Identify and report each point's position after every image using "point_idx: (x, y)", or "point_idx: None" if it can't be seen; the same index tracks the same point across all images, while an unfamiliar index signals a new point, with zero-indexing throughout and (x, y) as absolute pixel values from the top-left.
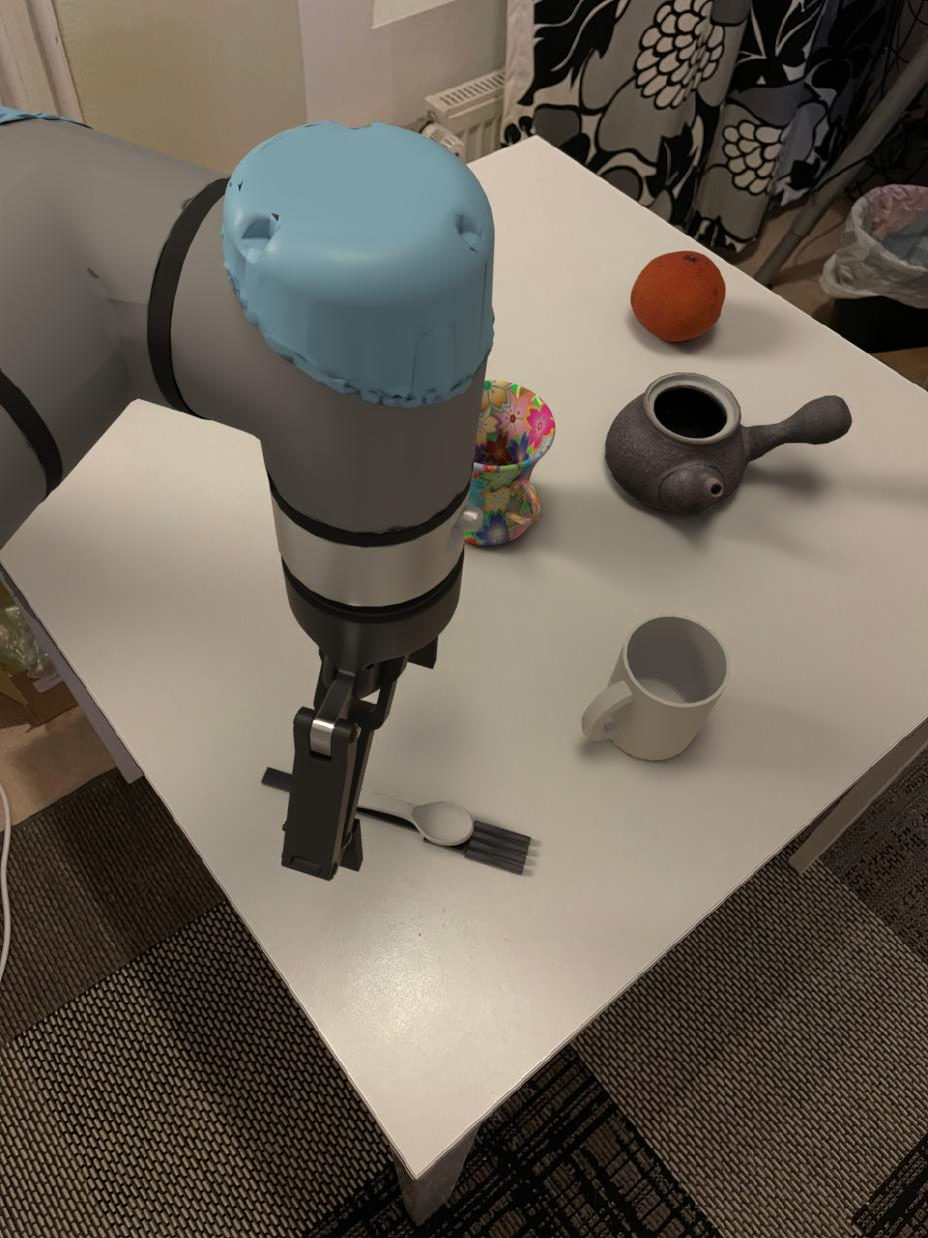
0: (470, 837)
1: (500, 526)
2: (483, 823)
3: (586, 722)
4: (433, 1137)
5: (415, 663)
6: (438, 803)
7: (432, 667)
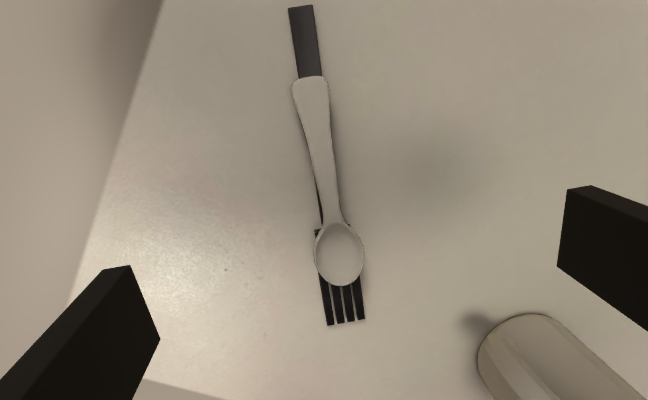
0: None
1: None
2: (358, 276)
3: (507, 370)
4: None
5: (563, 237)
6: (357, 239)
7: (562, 269)
